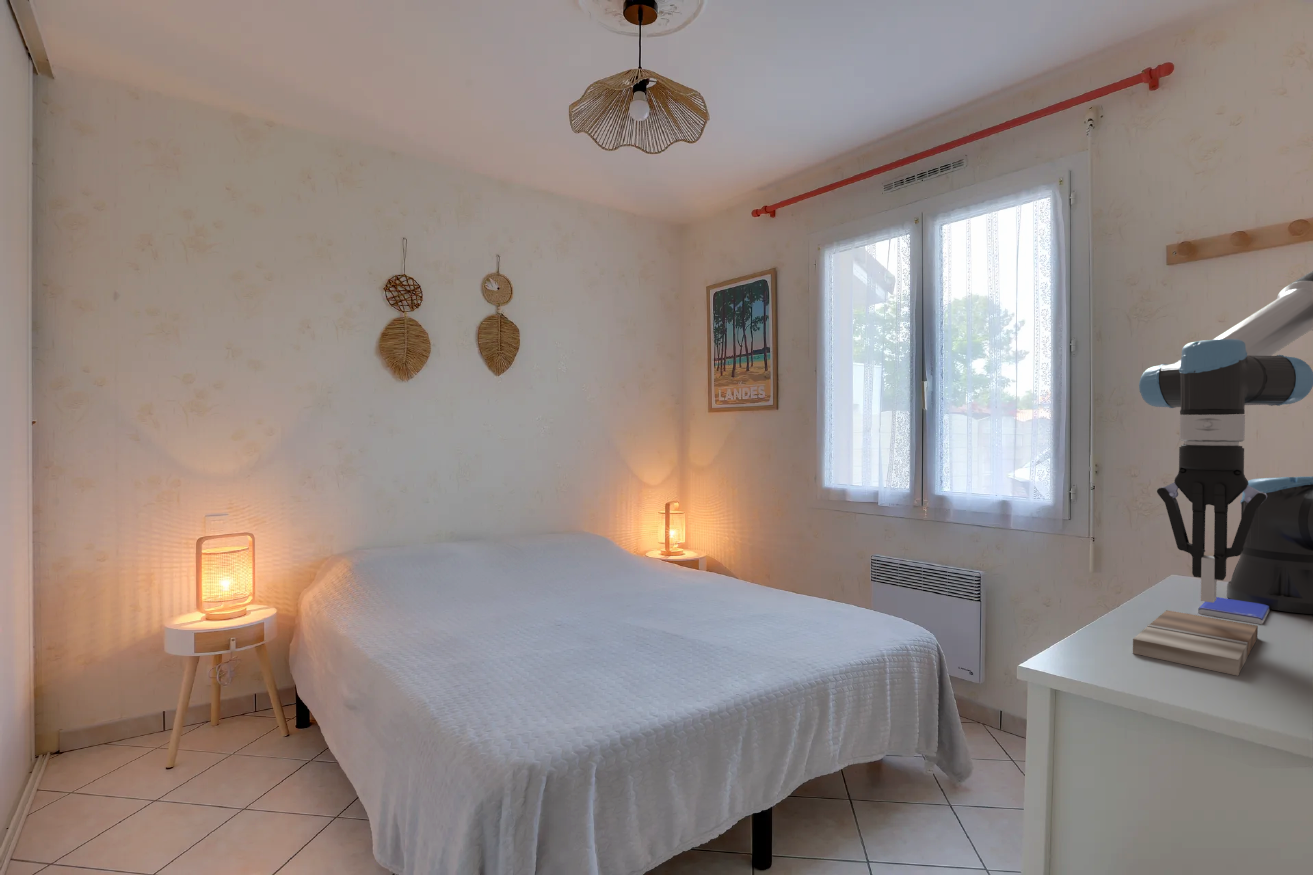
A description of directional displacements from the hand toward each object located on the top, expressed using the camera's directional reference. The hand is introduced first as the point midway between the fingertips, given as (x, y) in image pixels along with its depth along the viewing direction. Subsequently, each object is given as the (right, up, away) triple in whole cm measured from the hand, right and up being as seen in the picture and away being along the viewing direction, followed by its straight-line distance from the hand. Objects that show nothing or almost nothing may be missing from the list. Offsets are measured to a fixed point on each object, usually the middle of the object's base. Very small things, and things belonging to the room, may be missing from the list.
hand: (1208, 599), depth 101 cm
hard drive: (+16, -6, +15) cm, 23 cm away
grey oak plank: (-10, -5, -9) cm, 15 cm away
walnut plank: (-2, -5, -1) cm, 6 cm away
